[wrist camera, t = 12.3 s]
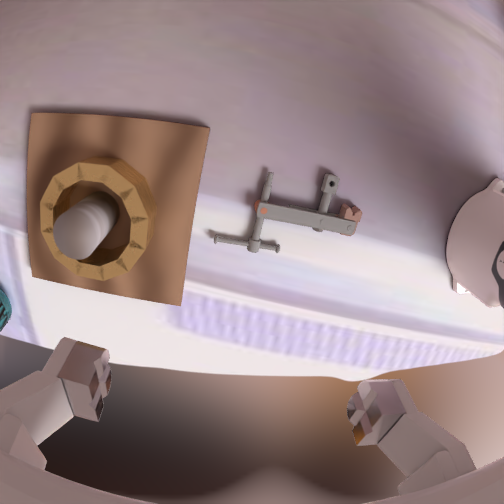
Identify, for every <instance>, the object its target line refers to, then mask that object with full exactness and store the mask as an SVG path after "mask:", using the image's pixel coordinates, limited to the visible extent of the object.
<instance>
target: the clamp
mask: <svg viewBox="0 0 504 504" xmlns="http://www.w3.org/2000/svg"><path fill="white" fill-rule="evenodd" d="M272 177H273V173H272V172H268V176H267V180H266V183H265V184H264V188H263V192H262V196H261V200H257V201H256V202H255V205H254V208H255V211H256V214H257V218H256V222H255V226H254V231H253V235H252V237H250V238H249V242H248V241H242V240H235V239H229V238H222V237H218V235H215V237H214V243H215V244H216V243H217V242H223V243H229V244H236V245H242V246H247V249H248V251H250V252H253V253H256V252H258V251H259V248H262V249H268V250H274V251H276V253H278V252H279V251H280V245H279V244H277V245H276V246H273V245H267V244H261V239H259V237H260V233H261V229H262V225H263V220H264V218H265V219H270V220H276V221H281V222H287V223H292V224H297V225H302V226H308V227H312V229H313V230H315V231H318V232H322V231H323V230H328V231H333V232H338V233H340V234H342V235H347V236H351V235H353V234H354V233H355V230H356V227H357V223H358V222H360V219H361V216H362V211H361V210H360V209H359V208H357V207H356V206H354V207H352V208H350V207H349V206H347V205H346V204H345V203H344V204H342V206H341V209H340V212H339V215H338V214H333V213H329V212H327V210H328V207H329V204H330V200H331V197H332V194H334V195H335V194H336V190H337V187H338V183H339V180H340V178H338V177H337V176H335V175H333V174H325V176H324V180H323V184H322V188H321V191H323V195H322V199H321V202H320V206H319V209H318V210H315V209H310V208H305V207H300V206H296V205H291V204H289V207H286V206H281V205H275V204H270V203H269V202H268V200H269V195H270V191H271V187H272V186H271V184H272V182H271V181H272ZM331 181H332V184H331V185H329V183H330V182H331Z"/></svg>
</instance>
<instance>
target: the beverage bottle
mask: <svg viewBox="0 0 504 504" xmlns="http://www.w3.org/2000/svg"><path fill="white" fill-rule="evenodd" d="M11 313H12V308H11V304H10V302H9V299H8V298H7V296H6V295H5V293H4V292H3V291H2V290H1V289H0V331H2V329H3V327H4V326H5V325H6V323H7V322H8V320H9V318H11V317H10V316H11Z"/></svg>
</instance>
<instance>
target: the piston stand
mask: <svg viewBox="0 0 504 504" xmlns="http://www.w3.org/2000/svg"><path fill="white" fill-rule="evenodd" d="M209 131H210V128H208V127H202V126H195V125H189V124H182V123H175V122H168V121H160V120H152V119H143V118H133V117H123V116H111V115H97V114H79V113H32V114H31V123H30V132H29V144H28V160H27V223H28V239H29V251H30V261H31V270H32V277H36V278H40V279H44V280H48V281H53V282H57V283H61V284H66V285H70V286H75V287H80V288H84V289H89V290H94V291H99V292H104V293H109V294H114V295H119V296H125V297H130V298H136V299H141V300H147V301H153V302H158V303H164V304H171V305H177V306H181V302H182V295H183V287H184V279H185V272H186V265H187V257H188V251H189V244H190V237H191V231H192V224H193V218H194V212H195V206H196V200H197V194H198V189H199V183H200V177H201V172H202V167H203V161H204V156H205V151H206V146H207V141H208V136H209ZM93 156H100V157H109V158H117V159H123V160H124V161H125V162H126V163H128V164H129V165H130V166H131V167H133V168H134V169H135V170H136V171H138V172H139V173H140V174H142V175H143V176H144V177H145V178H146V180H147V183H148V185H149V188H150V190H151V193H152V195H153V197H154V200H155V202H156V205H157V209H156V218H155V226H154V234H153V236H152V238H151V240H150V242H149V244H148V246H147V248H146V250H145V251H144V252H143V254H142V255H141V256H140V258H139V259H138V260H137V262H136V263H135V264H134V266H133V267H132V268H131V270H130V271H129V272H128V273H125V274H122V275H119V276H116V277H113V278H111V279H108V280H105V281H101V280H96V279H91V278H86V277H81V276H77V275H75V274H74V273H73V272H71V271H70V270H69V269H68V268H66V267H65V266H64V265H63V264H61V263H60V262H59V261H58V260H56V259H55V258H54V256H53V254H52V253H51V251H50V249H49V247H48V245H47V243H46V241H45V239H44V237H43V235H42V233H41V221H40V201H41V199H42V197H43V195H44V193H45V191H46V189H47V187H48V185H49V184H50V182H51V180H52V178H53V176H55V175H56V174H58V173H60V172H62V171H64V170H65V169H67V168H69V167H71V166H73V165H74V164H76V163H78V162H80V161H83V160H85V159H88V158H91V157H93ZM130 230H131V218H130V216H129V214H128V212H127V209H126V207H125V205H124V202H123V200H122V198H121V197H120V196H119V195H117V194H116V193H115V192H114V191H112V190H111V189H110V188H109V187H107V186H106V185H105V184H104V183H101V182H93V181H85V180H80V181H79V182H78V184H77V186H76V187H75V189H74V191H73V192H72V194H71V196H70V209H69V210H67V211H66V212H65V213H63V214H62V215H61V216H59V217H58V219H57V220H56V222H55V224H54V228H53V236H54V240H55V243H56V245H57V247H58V248H59V250H60V251H61V252H62V253H63V254H64V255H66V256H67V257H69V258H72V259H76V260H80V259H85V258H87V257H88V256H90V255H91V254H92V252H93V251H94V250H95V249H96V247H99V248H105V249H111V250H112V249H114V248H117V247H119V246H122V245H125V244H127V243H129V241H130Z"/></svg>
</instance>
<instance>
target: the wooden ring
mask: <svg viewBox="0 0 504 504" xmlns="http://www.w3.org/2000/svg"><path fill="white" fill-rule="evenodd" d="M80 180H85V181H93V182H101V183H104V184H105V185H106V186H107V187H109V188H110V189H111V190H112V191H114V192H115V193H116V194H117V195H119V196H120V197H121V198H122V200H123V202H124V205H125V207H126V209H127V212H128V214H129V216H130V218H131V230H130V241H129V243H127V244H125V245H122V246H119V247H117V248H114V249H112V250H111V249H105V248H99V247H96V249H95V250H94V251H93V252H92V254H91V255H90V256H88V257H87V258H85V259H80V260H76V259H72V258H69V257H67V256H66V255H64V254H63V253H62V252H61V251H60V250H59V248H58V247H57V245H56V243H55V240H54V236H53V228H54V224H55V222H56V220H57V219H58V217H59V216H61V215H62V214H63V213H65V212H66V211H67V210H69V209H70V196H71V194H72V192H73V191H74V189H75V187H76V186H77V184H78V182H79V181H80ZM156 209H157V205H156V202H155V200H154V197H153V195H152V193H151V190H150V188H149V185H148V183H147V180H146V178H145V177H144V176H143V175H142V174H140V173H139V172H138V171H136V170H135V169H134V168H133V167H131V166H130V165H129V164H128V163H126V162H125V161H124V160H123V159H117V158H109V157H100V156H93V157H91V158H88V159H85V160H83V161H80V162H78V163H76V164H74V165H73V166H71V167H69V168H67V169H65V170H64V171H62V172H60V173H58V174H56V175H55V176H53V178H52V180H51V182H50V184H49V185H48V187H47V189H46V191H45V193H44V195H43V197H42V199H41V201H40V221H41V233H42V235H43V237H44V239H45V241H46V243H47V245H48V247H49V249H50V251H51V253H52V254H53V256H54V258H55V259H56V260H58V261H59V262H60V263H61V264H63V265H64V266H65V267H66V268H68V269H69V270H70V271H71V272H73V273H74V274H75V275H77V276H81V277H86V278H91V279H96V280H101V281H105V280H108V279H111V278H113V277H116V276H119V275H122V274H125V273H128V272H129V271H130V270H131V268H132V267H133V266H134V264H135V263H136V262H137V260H138V259H139V258H140V256H141V255H142V254H143V252H144V251H145V250H146V248H147V246H148V244H149V242H150V240H151V238H152V236H153V234H154V226H155V218H156Z"/></svg>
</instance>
